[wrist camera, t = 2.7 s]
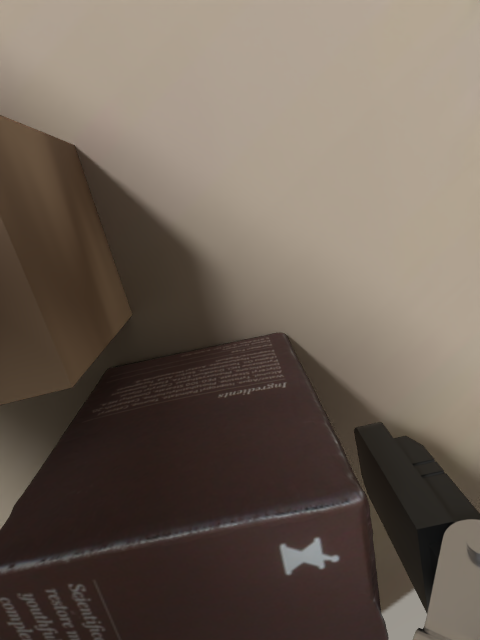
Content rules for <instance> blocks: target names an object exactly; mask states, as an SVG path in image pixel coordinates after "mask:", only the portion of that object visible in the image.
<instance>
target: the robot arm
mask: <svg viewBox="0 0 480 640" xmlns="http://www.w3.org/2000/svg"><path fill="white" fill-rule="evenodd" d="M354 433H355V439H356V445H357V451H358V456H359V462H360V468H361V473H362V478H363V481H364V484H365V487H366V490H367V493H368V495H369V497H370V499H371V501H372V503H373V505H374V507H375V509H376V511H377V513H378V515H379V517H380V519H381V521H382V523H383V525H384V527H385V529H386V531H387V534H388V536H389V538H390V540H391V542H392V544H393V546H394V548H395V550H396V552H397V554H398V556H399V558H400V560H401V562H402V564H403V566H404V568H405V570H406V572H407V574H408V576H409V578H410V580H411V582H412V584H413V586H414V588H415V590H416V592H417V594H418V596H419V598H420V600H421V602H422V604H423V606H424V608H425V610H426V612H427V618H426V622H425V626H424V628H423V629H420V628H418V629H417V631H416V632H415V635H414V638H413V640H480V514H479V512H478V511H477V510H476V509H475V508H474V506H473V505H472V504H471V503H470V502H469V500H468V499H467V498H466V497H465V496H464V494H463V493H462V492H461V491H460V490H459V488H458V487H457V486H456V485H455V484H454V482H453V481H452V480H451V479H450V478H449V476H448V475H447V474H446V473H444V470H443V469H442V468H441V467H440V466H439V464H438V463H437V462H435V461H434V458H433V457H432V456H431V455H430V453H429V452H428V451H427V450H426V449H425V447H424V446H423V445H421V444H419V443H418V442H416V441H414V440H412V439H411V438H409V437H407V436H403V437H398V438H393V437H392V436H391V434H390V433H389V432H388V430H387V429H386V427H385V426H384V425H383V423H381V422H378V423H374V424H369V425H365V426H360V427H356V428H355V429H354Z"/></svg>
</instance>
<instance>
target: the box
mask: <svg viewBox="0 0 480 640" xmlns="http://www.w3.org/2000/svg"><path fill="white" fill-rule="evenodd" d="M0 640H388V633H387V630H386V624H385V621H384V619H383V617H382V614H381V609H380V599H379V591H378V582H377V571H376V563H375V553H374V546H373V530H372V524H371V518H370V508H369V503H368V499H367V496H366V494H365V493H364V491H363V490H362V488H361V486H360V485H359V482H358V480H357V478H356V477H355V475H354V473H353V470H352V468H351V466H350V464H349V462H348V459H347V457H346V455H345V453H344V450H343V448H342V446H341V444H340V441H339V439H338V438H337V436H336V434H335V432H334V430H333V428H332V426H331V424H330V422H329V420H328V417H327V415H326V413H325V412H324V410H323V408H322V406H321V404H320V401H319V399H318V397H317V395H316V393H315V391H314V389H313V387H312V385H311V382H310V380H309V379H308V377H307V375H306V373H305V371H304V370H303V367H302V365H301V364H300V362H299V360H298V358H297V356H296V354H295V352H294V350H293V348H292V346H291V344H290V341H289V339H288V337H287V336H286V334H284V333H274V334H270V335H266V336H261V337H255V338H251V339H245V340H241V341H237V342H232V343H227V344H223V345H219V346H213V347H208V348H204V349H199V350H195V351H190V352H184V353H179V354H175V355H171V356H166V357H161V358H156V359H151V360H147V361H143V362H139V363H134V364H128V365H123V366H119V367H113V368H109V369H107V370H106V372H105V374H104V375H103V376H102V378H101V380H100V381H99V383H98V384H97V385H96V387H95V389H94V390H93V391H92V393H91V394H90V396H89V397H88V399H87V400H86V402H85V403H84V405H83V406H82V408H81V409H80V410H79V412H78V413H77V415H76V417H75V418H74V419H73V421H72V422H71V424H70V425H69V427H68V428H67V430H66V431H65V432H64V434H63V435H62V437H61V439H60V440H59V442H58V444H57V445H56V447H55V448H54V449H53V451H52V453H51V454H50V455H49V457H48V458H47V460H46V461H45V463H44V464H43V466H42V467H41V469H40V470H39V472H38V473H37V474H36V476H35V477H34V479H33V480H32V482H31V483H30V485H29V486H28V488H27V489H26V490H25V492H24V493H23V495H22V496H21V497H20V499H19V500H18V501H17V503H16V504H15V505H14V507H13V510H12V512H11V515H10V517H9V518H8V520H7V521H6V523H5V524H4V525H3V527H2V528H1V530H0Z"/></svg>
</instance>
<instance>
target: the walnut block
mask: <svg viewBox="0 0 480 640" xmlns="http://www.w3.org/2000/svg"><path fill="white" fill-rule="evenodd" d="M131 316H132V312H131V309H130V306H129V303H128V301H127V298H126V295H125V292H124V289H123V286H122V283H121V280H120V277H119V274H118V271H117V268H116V265H115V263H114V260H113V257H112V254H111V251H110V248H109V245H108V242H107V239H106V236H105V233H104V230H103V228H102V225H101V222H100V219H99V216H98V213H97V210H96V207H95V204H94V201H93V198H92V195H91V192H90V190H89V187H88V184H87V181H86V178H85V175H84V172H83V169H82V166H81V163H80V160H79V157H78V154H77V152H76V149H75V146H74V145H73V144H70V143H68V142H65V141H63V140H60V139H58V138H55V137H53V136H50V135H48V134H46V133H43V132H41V131H38V130H36V129H33V128H31V127H28V126H26V125H23V124H21V123H18V122H16V121H14V120H11V119H9V118H6V117H4V116H1V115H0V405H2V404H6V403H11V402H15V401H19V400H23V399H27V398H31V397H35V396H39V395H44V394H48V393H52V392H56V391H60V390H64V389H68V388H72V387H73V386H74V385H75V384H76V382H77V381H78V380H79V379H80V378H81V376H82V375H83V374H84V373H85V372H86V370H87V369H88V368H89V367H90V366H91V364H92V363H93V362H94V361H95V360H96V358H97V357H98V356H99V355H100V353H101V352H102V351H103V350H104V349H105V347H106V346H107V345H108V344H109V343H110V341H111V340H112V339H113V338H114V337H115V335H116V334H117V333H118V332H119V330H120V329H121V328H122V327H123V326H124V324H125V323H126V322H127V321H128V320H129V318H130V317H131Z"/></svg>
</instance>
